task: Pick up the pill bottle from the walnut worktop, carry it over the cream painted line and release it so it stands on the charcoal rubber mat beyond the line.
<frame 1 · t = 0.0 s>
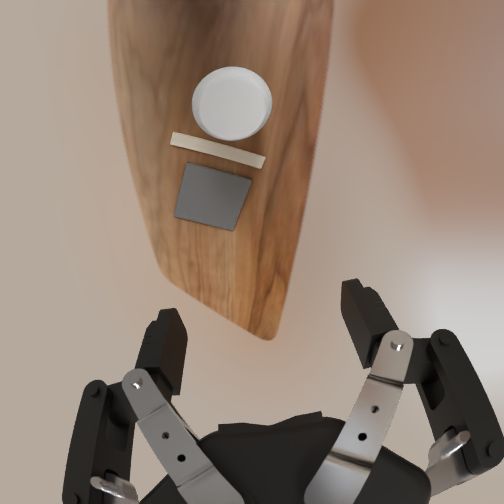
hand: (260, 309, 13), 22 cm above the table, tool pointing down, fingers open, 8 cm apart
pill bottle: (231, 95, 26), on the table
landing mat: (211, 197, 33), on the table
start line: (217, 149, 29), on the table
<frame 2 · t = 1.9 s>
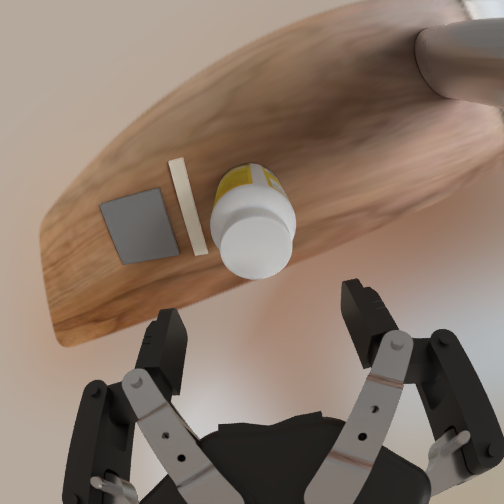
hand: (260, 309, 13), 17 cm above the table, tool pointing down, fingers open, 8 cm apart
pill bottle: (249, 191, 27), on the table
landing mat: (139, 228, 29), on the table
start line: (189, 208, 28), on the table
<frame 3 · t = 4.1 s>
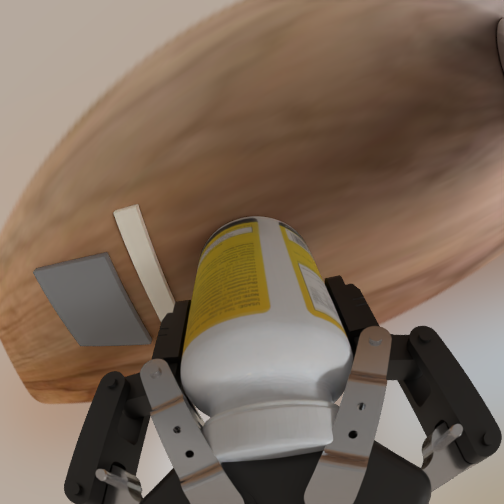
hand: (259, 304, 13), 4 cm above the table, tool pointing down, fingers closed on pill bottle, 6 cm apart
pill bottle: (255, 260, 16), on the table, touching gripper
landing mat: (90, 305, 18), on the table
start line: (156, 285, 17), on the table
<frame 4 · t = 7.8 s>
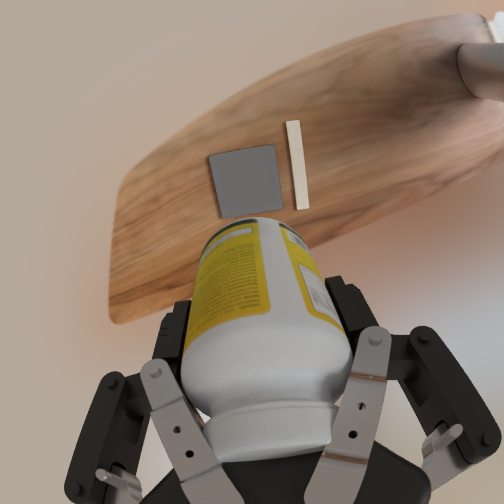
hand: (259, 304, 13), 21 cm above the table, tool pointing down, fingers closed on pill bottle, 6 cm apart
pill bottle: (255, 261, 16), point 17 cm above the table, touching gripper
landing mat: (247, 181, 32), on the table
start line: (298, 165, 31), on the table
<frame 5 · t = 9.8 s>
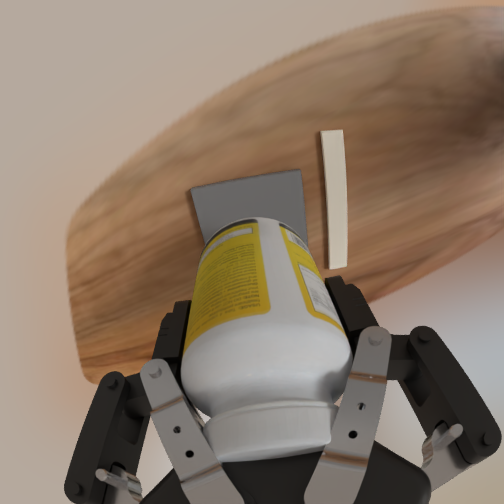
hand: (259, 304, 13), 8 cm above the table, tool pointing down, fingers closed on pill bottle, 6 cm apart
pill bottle: (255, 261, 16), point 4 cm above the table, touching gripper
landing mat: (254, 229, 20), on the table
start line: (336, 204, 19), on the table
when the fingers open (6 cm above the table, at t = 11.5 s): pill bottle drops 1 cm, resting on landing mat.
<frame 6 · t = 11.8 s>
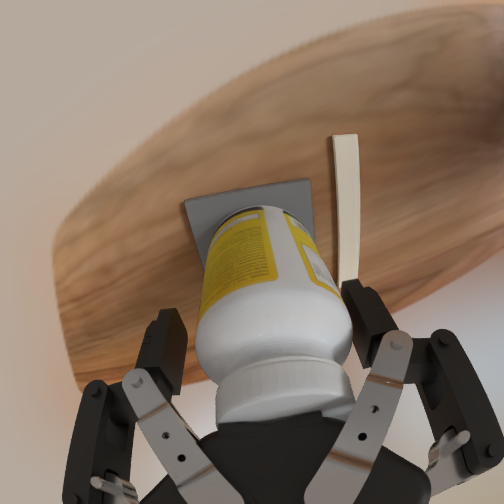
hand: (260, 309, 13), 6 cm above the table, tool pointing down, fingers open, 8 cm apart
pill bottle: (260, 247, 18), resting on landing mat
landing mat: (256, 245, 18), on the table
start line: (347, 217, 17), on the table
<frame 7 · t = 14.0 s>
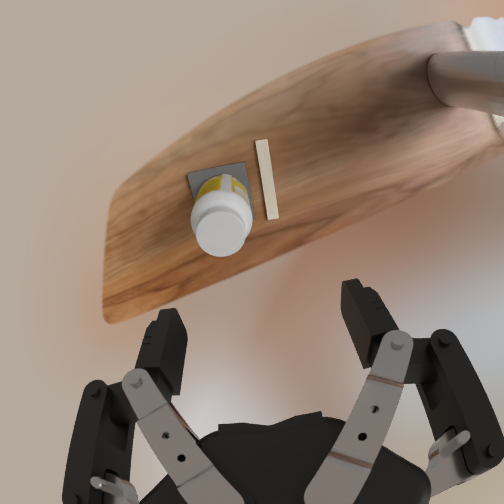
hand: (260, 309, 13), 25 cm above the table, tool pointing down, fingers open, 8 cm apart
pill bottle: (223, 196, 35), resting on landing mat
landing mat: (222, 195, 36), on the table
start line: (267, 180, 35), on the table
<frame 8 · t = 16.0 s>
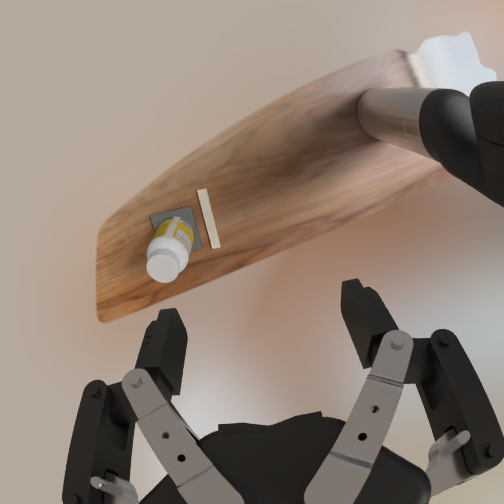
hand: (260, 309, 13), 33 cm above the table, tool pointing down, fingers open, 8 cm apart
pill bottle: (177, 231, 46), resting on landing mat
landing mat: (176, 231, 47), on the table
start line: (209, 219, 46), on the table
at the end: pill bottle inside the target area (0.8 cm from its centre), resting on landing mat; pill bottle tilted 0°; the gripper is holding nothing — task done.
